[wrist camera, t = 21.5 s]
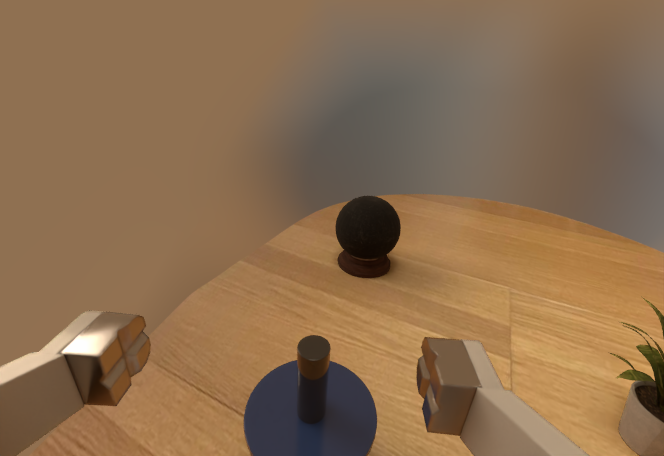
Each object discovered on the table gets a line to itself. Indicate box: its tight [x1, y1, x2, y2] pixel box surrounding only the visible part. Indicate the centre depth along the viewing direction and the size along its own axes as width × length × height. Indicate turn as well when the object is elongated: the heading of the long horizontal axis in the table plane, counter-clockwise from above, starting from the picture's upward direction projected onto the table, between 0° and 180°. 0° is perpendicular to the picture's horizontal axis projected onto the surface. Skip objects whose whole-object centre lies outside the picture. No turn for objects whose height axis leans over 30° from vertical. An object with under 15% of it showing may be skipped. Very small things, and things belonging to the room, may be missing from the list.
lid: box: [244, 335, 377, 456], centre depth 28 cm, size 12×12×9 cm
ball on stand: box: [336, 196, 400, 278], centre depth 68 cm, size 13×13×15 cm
